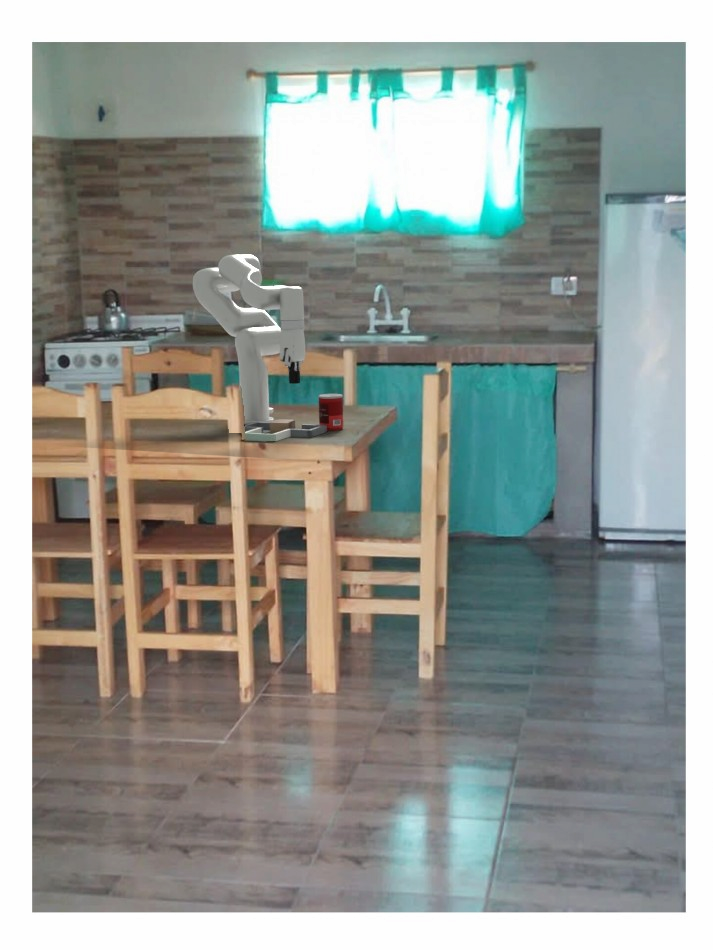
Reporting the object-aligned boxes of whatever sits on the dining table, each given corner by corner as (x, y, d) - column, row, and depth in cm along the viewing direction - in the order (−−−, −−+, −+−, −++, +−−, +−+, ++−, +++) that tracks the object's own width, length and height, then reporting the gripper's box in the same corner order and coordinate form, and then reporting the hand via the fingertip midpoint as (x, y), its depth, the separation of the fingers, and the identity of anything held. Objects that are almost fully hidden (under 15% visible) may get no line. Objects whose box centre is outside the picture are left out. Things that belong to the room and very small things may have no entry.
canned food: (346, 427, 404) (345, 393, 402) (339, 431, 397) (338, 396, 395) (323, 427, 407) (322, 393, 404) (316, 430, 399) (315, 396, 397)
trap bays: (256, 428, 406) (256, 421, 405) (326, 431, 396) (326, 425, 395) (239, 433, 396) (239, 426, 395) (311, 437, 386) (310, 430, 385)
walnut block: (277, 431, 400) (277, 419, 399) (295, 432, 398) (295, 419, 397) (270, 435, 393) (269, 422, 393) (288, 435, 392) (287, 422, 391)
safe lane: (258, 434, 393) (258, 427, 392) (290, 436, 388) (290, 429, 388) (241, 440, 383) (240, 433, 382) (274, 441, 378) (273, 434, 378)
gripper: (292, 324, 406) (294, 380, 409) (271, 327, 392) (273, 385, 395) (313, 324, 403) (315, 381, 406) (292, 327, 389) (294, 386, 392)
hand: (294, 383), depth 401 cm, fingers closed
